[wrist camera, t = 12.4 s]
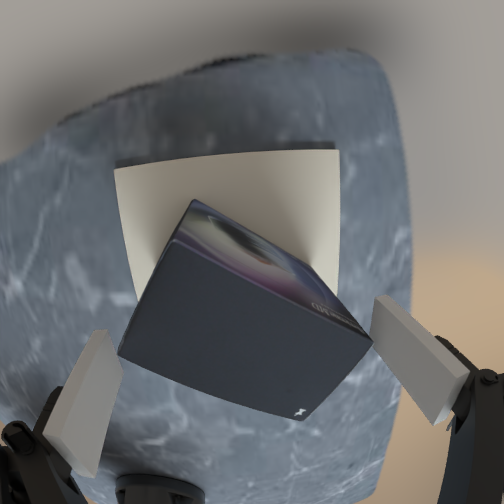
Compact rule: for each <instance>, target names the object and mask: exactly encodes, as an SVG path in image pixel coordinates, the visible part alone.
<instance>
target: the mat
mask: <svg viewBox="0 0 504 504" xmlns="http://www.w3.org/2000/svg"><path fill="white" fill-rule="evenodd" d="M114 176H115V184H116V191H117V199H118V205H119V212H120V218H121V224H122V229H123V235H124V240H125V245H126V250H127V255H128V260H129V265H130V269H131V274H132V278H133V282H134V286H135V291H136V295H137V299H138V302H139V300H140V298H141V295H142V293H143V291H144V289H145V287H146V285H147V283H148V281H149V279H150V277H151V275H152V272H153V270H154V268H155V266H156V264H157V262H158V260H159V258H160V256H161V254H162V252H163V250H164V248H165V246H166V244H167V242H168V240H169V238H170V236H171V235H172V233H173V231H174V229H175V228H176V226H177V224H178V223H179V221H180V219H181V217H182V216H183V214H184V212H185V211H186V209H187V207H188V206H189V204H190V202H191V201H192V200H193V199H197V200H198V201H200V202H202V203H204V204H206V205H207V206H209V207H211V208H213V209H214V210H216V211H218V212H220V213H221V214H223V215H225V216H227V217H228V218H230V219H232V220H234V221H235V222H237V223H239V224H240V225H242V226H244V227H246V228H247V229H249V230H251V231H252V232H254V233H256V234H258V235H259V236H261V237H263V238H264V239H266V240H268V241H269V242H271V243H273V244H275V245H276V246H278V247H280V248H281V249H283V250H285V251H286V252H288V253H290V254H291V255H293V256H295V257H296V258H298V259H300V260H301V261H303V262H305V263H307V264H308V265H310V266H311V267H312V268H313V269H314V270H315V272H316V273H317V274H318V275H319V276H320V278H321V279H322V280H323V281H324V283H325V284H326V285H327V286H328V287H329V288H330V290H331V291H332V292H333V293H334V294H335V296H336V297H337V287H338V269H339V243H340V166H339V150H280V151H260V152H245V153H232V154H220V155H210V156H201V157H192V158H183V159H176V160H168V161H161V162H154V163H148V164H142V165H136V166H130V167H124V168H119V169H114Z"/></svg>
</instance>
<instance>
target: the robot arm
mask: <svg viewBox="0 0 504 504" xmlns="http://www.w3.org/2000/svg"><path fill="white" fill-rule="evenodd" d="M369 337H370V338H371V339H372V340H373V341H374V345H373V346H372V347H373V348H374V349H375V350H376V352H377V353H378V354H379V355H380V357H381V358H382V359H383V361H384V362H385V363H386V364H387V366H388V367H389V368H390V370H391V371H392V372H393V374H394V375H395V376H396V377H397V379H398V380H399V381H400V383H401V384H402V385H403V387H404V388H405V389H406V390H407V392H408V393H409V395H410V396H411V397H412V399H413V400H414V401H415V402H416V404H417V405H418V406H419V408H420V409H421V411H422V412H423V413H424V415H425V416H426V417H427V419H428V420H429V421H430V423H431V424H432V425H433V426H434V425H436V424H438V423H439V422H441V421H443V420H445V419H446V418H447V416H448V415H449V413H450V411H451V410H452V411H453V412H454V413H455V415H454V417H453V418H452V420H451V422H450V424H449V425H448V427H447V429H446V431H448V430H449V429H450V427H451V426H452V429H451V437H450V445H449V451H448V457H447V463H446V468H445V474H444V478H443V482H442V486H441V491H440V495H439V498H438V502H437V504H501V501H502V494H503V493H504V373H502V374H497V373H496V372H494V371H493V370H490V369H482V370H479V369H478V368H476V367H475V366H474V365H473V364H472V363H471V362H470V361H469V360H468V359H467V358H466V357H465V356H464V355H463V354H462V353H459V351H458V350H457V349H456V348H454V346H453V345H452V344H451V343H450V342H449V341H448V340H446V339H444V338H442V337H440V336H438V335H437V336H433V335H432V334H431V333H430V332H428V331H427V330H426V329H425V328H424V327H423V326H422V325H421V324H420V323H419V322H417V321H416V320H415V319H414V318H413V317H412V316H411V315H410V314H409V313H407V312H406V311H405V310H404V309H403V308H402V307H401V306H400V305H398V304H397V303H396V302H395V301H394V300H393V299H392V298H390V297H389V296H388V295H383V296H378V297H375V299H374V307H373V314H372V321H371V328H370V334H369ZM123 374H124V371H123V369H122V367H121V364H120V362H119V359H118V356H117V354H116V351H115V349H114V346H113V343H112V340H111V338H110V335H109V332H108V329H106V330H94V331H93V333H92V335H91V336H90V338H89V340H88V342H87V344H86V345H85V347H84V349H83V351H82V353H81V355H80V356H79V358H78V360H77V362H76V364H75V366H74V368H73V370H72V372H71V374H70V376H69V377H68V379H67V381H66V383H65V385H64V387H61V386H58V387H57V388H56V389H55V390H54V391H53V392H52V393H51V394H50V396H49V398H48V400H47V402H46V404H45V406H44V408H43V411H42V412H41V414H40V416H39V418H38V420H37V422H36V425H35V427H34V429H33V431H31V430H30V428H29V427H28V426H27V425H26V423H24V422H22V421H12V422H10V423H9V424H7V425H6V426H5V428H4V429H3V431H2V434H1V439H2V440H3V441H4V442H5V444H6V445H7V446H1V444H0V504H88V502H87V501H86V499H85V497H84V496H83V494H82V492H81V491H80V489H79V487H78V485H77V484H76V482H75V480H74V478H73V477H72V476H71V475H70V473H71V470H72V469H73V470H74V471H75V472H76V473H77V474H78V475H80V476H85V477H91V478H96V474H97V469H98V465H99V461H100V456H101V452H102V448H103V444H104V440H105V436H106V432H107V429H108V425H109V421H110V418H111V414H112V411H113V407H114V404H115V400H116V397H117V394H118V390H119V387H120V384H121V381H122V378H123ZM115 494H116V498H117V502H118V504H205V495H204V493H203V492H202V491H201V490H200V489H199V488H197V487H195V486H193V485H191V484H188V483H185V482H182V481H178V480H175V479H170V478H165V477H159V476H152V475H126V476H122V477H120V478H118V479H117V482H116V488H115Z"/></svg>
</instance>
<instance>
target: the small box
mask: <svg viewBox="0 0 504 504" xmlns="http://www.w3.org/2000/svg"><path fill="white" fill-rule="evenodd" d="M373 345H374V341H373V340H372V339H371V338H370V337H369V336H368V334H367V333H366V332H365V331H364V330H363V328H362V327H361V326H360V325H359V323H358V322H357V321H356V320H355V319H354V317H353V316H352V315H351V314H350V312H349V311H348V310H347V309H346V308H345V306H344V305H343V304H342V303H341V302H340V300H339V299H338V298H337V297H336V296H335V294H334V293H333V292H332V291H331V290H330V288H329V287H328V286H327V285H326V284H325V283H324V281H323V280H322V279H321V278H320V276H319V275H318V274H317V273H316V272H315V270H314V269H313V268H312V267H311V266H310V265H308V264H307V263H305V262H303V261H301V260H300V259H298V258H296V257H295V256H293V255H291V254H290V253H288V252H286V251H285V250H283V249H281V248H280V247H278V246H276V245H275V244H273V243H271V242H269V241H268V240H266V239H264V238H263V237H261V236H259V235H258V234H256V233H254V232H252V231H251V230H249V229H247V228H246V227H244V226H242V225H240V224H239V223H237V222H235V221H234V220H232V219H230V218H228V217H227V216H225V215H223V214H221V213H220V212H218V211H216V210H214V209H213V208H211V207H209V206H207V205H206V204H204V203H202V202H200V201H198V200H197V199H193V200H192V201H191V202H190V204H189V206H188V207H187V209H186V211H185V212H184V214H183V216H182V217H181V219H180V221H179V223H178V224H177V226H176V228H175V229H174V231H173V233H172V235H171V236H170V238H169V240H168V242H167V244H166V246H165V248H164V250H163V252H162V254H161V256H160V258H159V260H158V262H157V264H156V266H155V268H154V270H153V272H152V275H151V277H150V279H149V281H148V283H147V285H146V287H145V289H144V291H143V293H142V295H141V298H140V300H139V302H138V304H137V307H136V308H135V311H134V313H133V315H132V317H131V319H130V322H129V324H128V327H127V329H126V331H125V333H124V336H123V338H122V341H121V343H120V345H119V348H118V353H117V354H118V355H119V356H120V357H122V358H124V359H126V360H128V361H130V362H132V363H135V364H137V365H139V366H141V367H143V368H145V369H148V370H150V371H152V372H154V373H157V374H159V375H161V376H163V377H166V378H168V379H171V380H173V381H175V382H178V383H180V384H183V385H185V386H188V387H190V388H193V389H196V390H198V391H201V392H204V393H206V394H209V395H212V396H215V397H218V398H221V399H223V400H227V401H230V402H233V403H236V404H239V405H242V406H245V407H249V408H252V409H255V410H259V411H263V412H266V413H270V414H273V415H277V416H281V417H285V418H289V419H293V420H298V421H304V420H306V419H307V418H308V417H309V416H310V415H311V414H312V413H313V412H314V411H315V410H316V409H317V408H318V407H319V406H320V405H321V404H322V403H323V402H324V401H325V400H326V399H327V398H328V397H329V395H330V394H331V393H332V392H333V391H334V390H335V389H336V388H337V387H338V386H339V385H340V384H341V383H342V382H343V380H344V379H345V378H346V377H347V376H348V375H349V374H350V372H351V371H352V370H353V369H354V368H355V367H356V366H357V364H358V363H359V362H360V361H361V360H362V358H363V357H364V356H365V355H366V353H367V352H368V351H369V350H370V349H371V347H372V346H373Z"/></svg>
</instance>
